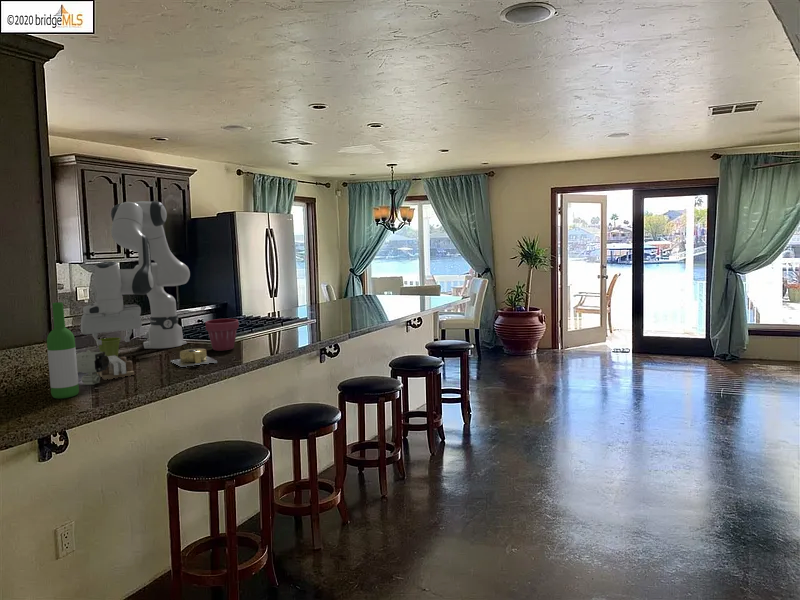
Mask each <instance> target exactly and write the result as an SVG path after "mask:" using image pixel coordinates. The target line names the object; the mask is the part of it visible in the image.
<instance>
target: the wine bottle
mask: <svg viewBox="0 0 800 600" xmlns="http://www.w3.org/2000/svg"><path fill="white" fill-rule="evenodd" d="M51 305H52V315H53V317H52V318H53V329H52V330H51V331H50V332H49V333H48V335H47V338H46V347H47V351H46V352H47V359H48V371H49V384H50V394H51V396H52V397H53V398H54V399H57V400H58V399H69V398H73V397H75V396H78V394H79V392H80V387H79V386H80V384H79V375H78V373H79V372H78V371H77V360H76V353H77V350H76V348H77V347H76V341H75V340H76V339H75V334H73V331H71V330H70V329H69V328H67V327H66V321H65V319H66V318H65V310H64V309H65V308H64V303H63V302H61V301H60V302H59V301H58V302H53V303H52V304H51Z"/></svg>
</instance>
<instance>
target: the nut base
mask: <svg viewBox="0 0 800 600" xmlns="http://www.w3.org/2000/svg"><path fill="white" fill-rule="evenodd" d="M171 362H172V363H171ZM170 363H171V364H173V363H174V364H176V365H178V366H180V367H186V368H188V367H187V366H193V367H195V366H194V365H200V364H207V365H210V364H209V363H214V364H218V360H217V359H215V358H213V357H210V356H208V355H207V359H206V360H203V361H201V363H195V362H181V361H180V358H177V359H170ZM174 364H173V365H174ZM176 365H175V366H176ZM178 366H177V367H178ZM200 366H201V365H200ZM180 367H179V368H180Z"/></svg>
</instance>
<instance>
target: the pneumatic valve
mask: <svg viewBox="0 0 800 600" xmlns="http://www.w3.org/2000/svg"><path fill="white" fill-rule="evenodd" d="M76 360H77V371H78V373H83V375H82V378H81V382H82V384H83V385H84V386H94V385H96V384H99V383H100V380H101V377H100V376H99V375H98V374H97V373H96V372H101V371H103V370H106V368H107V367H108V365H109V358H108V357H107V356H106V355H105V352H100V351H91V349H87V350H86V351H79V352H76Z"/></svg>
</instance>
